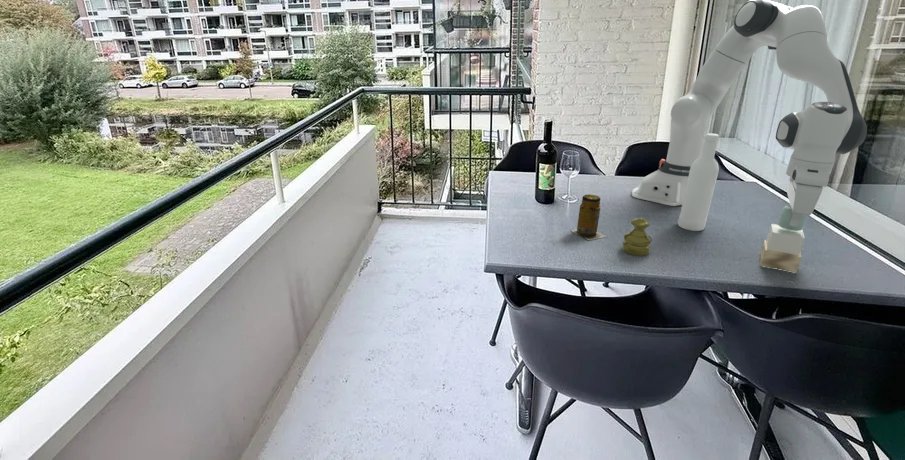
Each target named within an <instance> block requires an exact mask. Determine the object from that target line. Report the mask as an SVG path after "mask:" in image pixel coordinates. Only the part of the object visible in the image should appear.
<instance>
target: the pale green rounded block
mask: <svg viewBox="0 0 905 460" xmlns="http://www.w3.org/2000/svg"><path fill="white" fill-rule="evenodd" d="M791 216H792V209H791V206H789V205H784V206H783V209H782V212H781V215H780V219H779V221H778V224H777V225H779V226H780V227H782V228H784V229H788V230H794V231H800V230H803V228H804V226H805V222H806V220H807V216H802V218H801V219H800V221H799V224H798V226H796V227H795V226H790V225H789V221H790V218H791Z"/></svg>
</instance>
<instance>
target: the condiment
mask: <svg viewBox="0 0 905 460" xmlns="http://www.w3.org/2000/svg"><path fill="white" fill-rule="evenodd" d="M600 204H601V197H600V196H599V195H596V194H584V195H583V196H582V200H581V203H580V205H579V211H578V219H577V226H576V227H577V228H576V229H571V230H570V232H572V233H573V234H575V235H577V236H579V237H581V238H583V239H585V240H587V241H592V240H594V241H595V240H598V239H604V238H607V236H606V235H604V234H603V233H601V232H599V231H598V227H599V219H600V214H601V205H600Z"/></svg>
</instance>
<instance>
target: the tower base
mask: <svg viewBox="0 0 905 460" xmlns="http://www.w3.org/2000/svg"><path fill="white" fill-rule="evenodd" d="M802 258H803V257H802V253H801V251H800V254H799V256H798V255H793V254H788V253H783V252H778V251H773V250H767V243H766V239H764V240H763V243H762V246H761V249H760V252H759V266H760V267H761V266H765V267H770V268H777V269H782V270H786V271H791V272H796V273H797V271H798V269H799V267H800V263H801V261H802ZM765 267H764V268H765ZM770 268H769V269H770Z"/></svg>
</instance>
